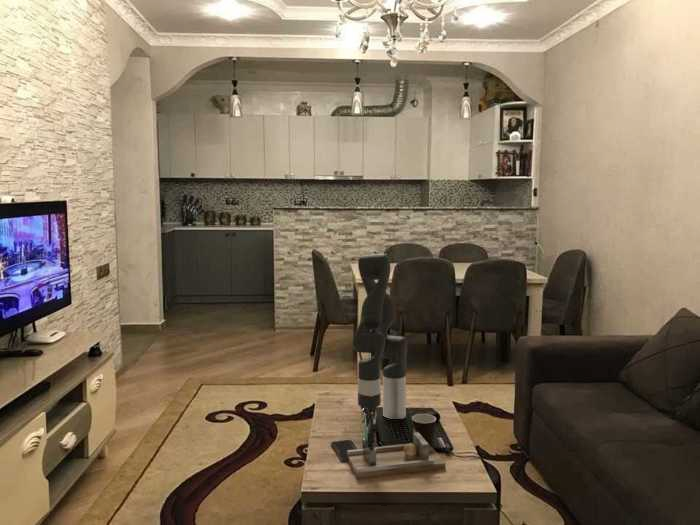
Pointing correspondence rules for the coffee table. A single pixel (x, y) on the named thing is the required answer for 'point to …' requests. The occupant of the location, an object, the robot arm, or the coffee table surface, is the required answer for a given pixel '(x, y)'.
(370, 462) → the moving jaw
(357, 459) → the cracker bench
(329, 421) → the coffee table surface
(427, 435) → the coffee mug
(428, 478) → the coffee table surface
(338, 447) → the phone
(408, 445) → the nut
